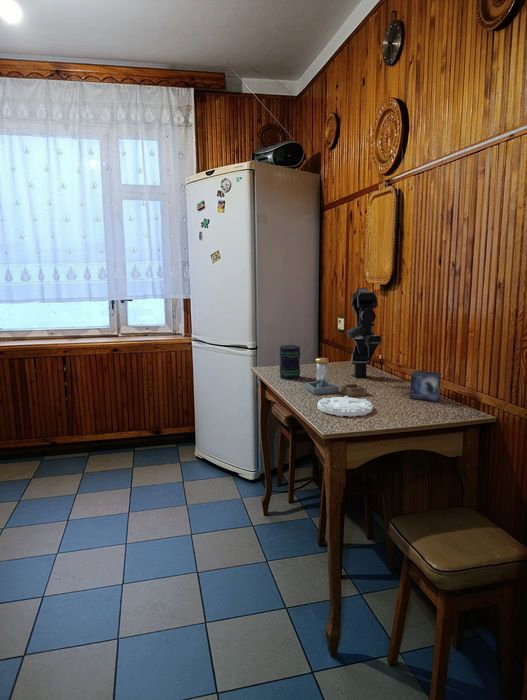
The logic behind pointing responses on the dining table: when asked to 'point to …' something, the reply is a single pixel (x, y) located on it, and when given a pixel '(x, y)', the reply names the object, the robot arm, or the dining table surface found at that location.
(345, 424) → the dining table surface
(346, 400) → the giant coin
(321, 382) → the pin
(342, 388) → the socket block
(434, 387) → the small box
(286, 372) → the storage jar
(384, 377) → the dining table surface
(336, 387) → the tray
